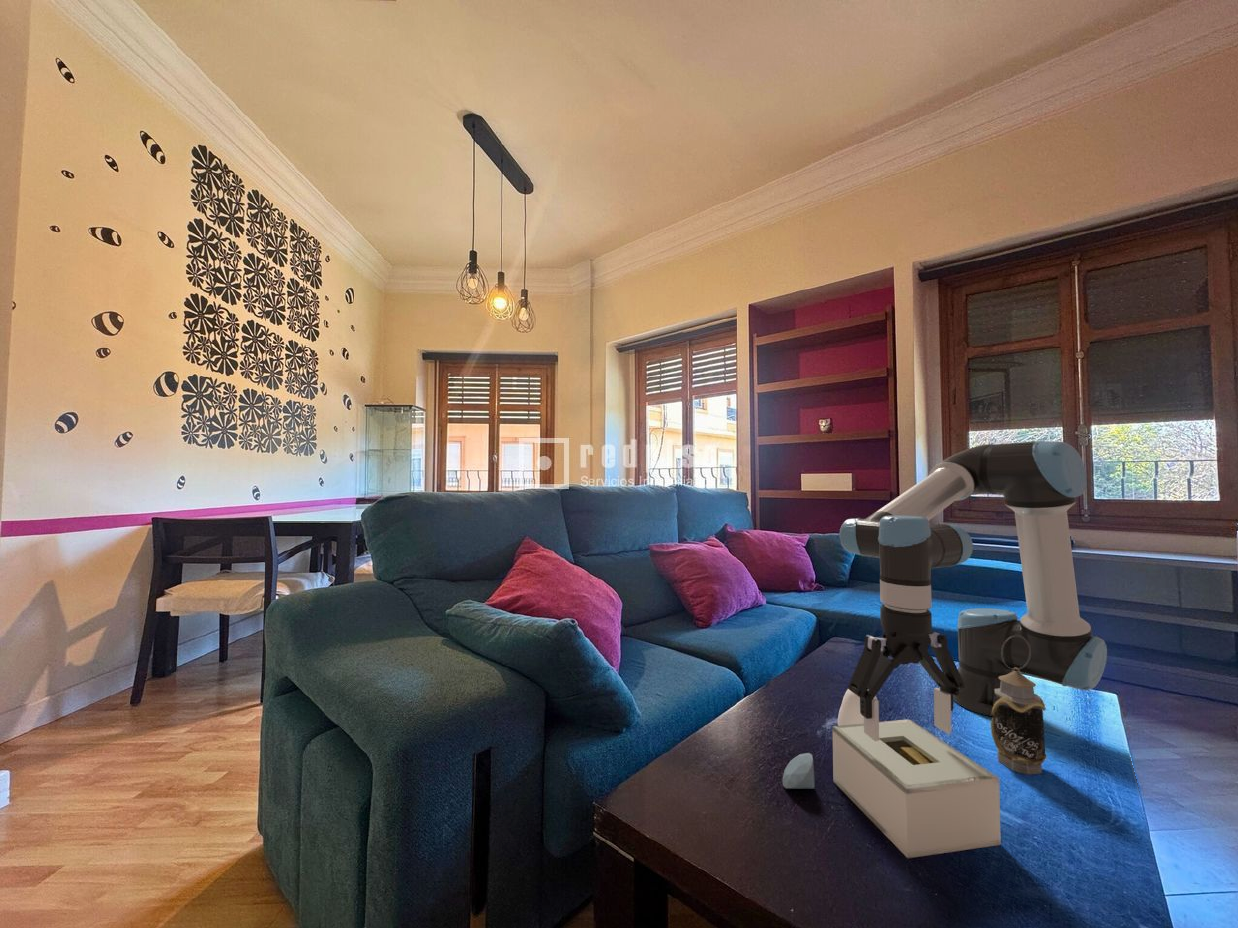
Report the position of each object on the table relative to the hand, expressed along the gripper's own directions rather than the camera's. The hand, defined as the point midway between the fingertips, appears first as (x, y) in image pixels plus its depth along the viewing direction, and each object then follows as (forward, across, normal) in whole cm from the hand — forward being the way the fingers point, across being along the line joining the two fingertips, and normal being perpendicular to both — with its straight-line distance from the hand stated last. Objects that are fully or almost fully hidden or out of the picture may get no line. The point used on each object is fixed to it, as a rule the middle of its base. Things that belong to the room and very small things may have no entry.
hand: (907, 733), depth 80 cm
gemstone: (+13, +15, -9) cm, 22 cm away
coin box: (+13, 0, 0) cm, 13 cm away
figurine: (+13, -5, -20) cm, 24 cm away
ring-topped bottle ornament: (+13, -31, -8) cm, 35 cm away
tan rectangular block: (+12, 0, 0) cm, 12 cm away
